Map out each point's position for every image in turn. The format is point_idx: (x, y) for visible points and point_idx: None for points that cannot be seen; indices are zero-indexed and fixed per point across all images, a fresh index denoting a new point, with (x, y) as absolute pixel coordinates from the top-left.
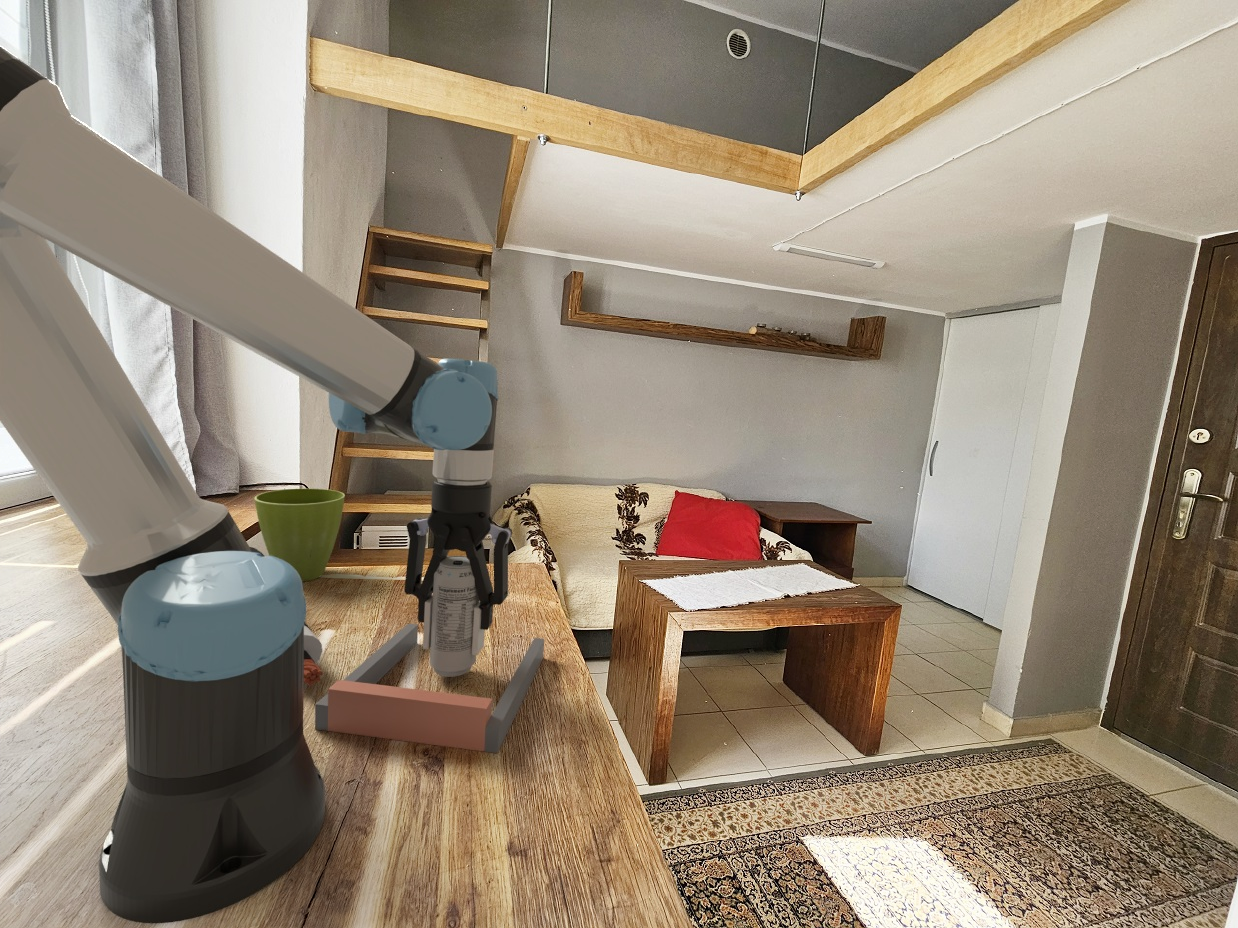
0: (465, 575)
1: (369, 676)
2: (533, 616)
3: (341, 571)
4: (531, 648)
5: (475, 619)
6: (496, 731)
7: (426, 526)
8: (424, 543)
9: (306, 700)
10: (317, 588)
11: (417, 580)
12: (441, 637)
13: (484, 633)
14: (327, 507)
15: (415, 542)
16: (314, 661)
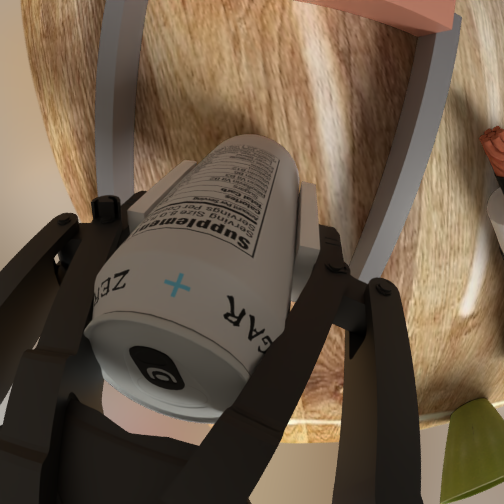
0: (107, 281)
1: (407, 128)
2: None
3: (433, 422)
4: None
5: (155, 195)
6: None
7: None
8: (340, 481)
9: (479, 108)
10: (461, 393)
11: (358, 339)
12: (257, 160)
13: None
14: (465, 486)
15: (390, 485)
16: (491, 206)
